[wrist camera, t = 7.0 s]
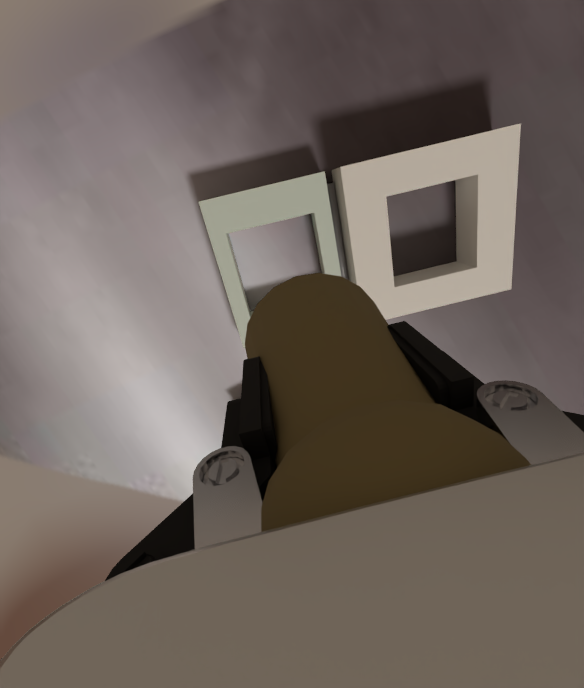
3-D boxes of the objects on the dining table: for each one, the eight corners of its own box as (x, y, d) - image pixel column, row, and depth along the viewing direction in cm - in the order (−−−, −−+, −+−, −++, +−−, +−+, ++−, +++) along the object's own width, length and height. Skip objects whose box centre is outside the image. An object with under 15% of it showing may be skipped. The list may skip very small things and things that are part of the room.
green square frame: (320, 173, 30) (324, 171, 28) (343, 316, 36) (348, 322, 34) (201, 201, 30) (198, 201, 28) (244, 340, 36) (243, 347, 34)
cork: (393, 379, 16) (647, 706, 5) (270, 417, 16) (299, 804, 6) (368, 252, 13) (744, 425, 3) (223, 299, 13) (124, 612, 3)
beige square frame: (492, 131, 30) (520, 123, 27) (488, 281, 36) (511, 289, 33) (320, 173, 30) (328, 169, 27) (343, 316, 36) (352, 327, 32)
